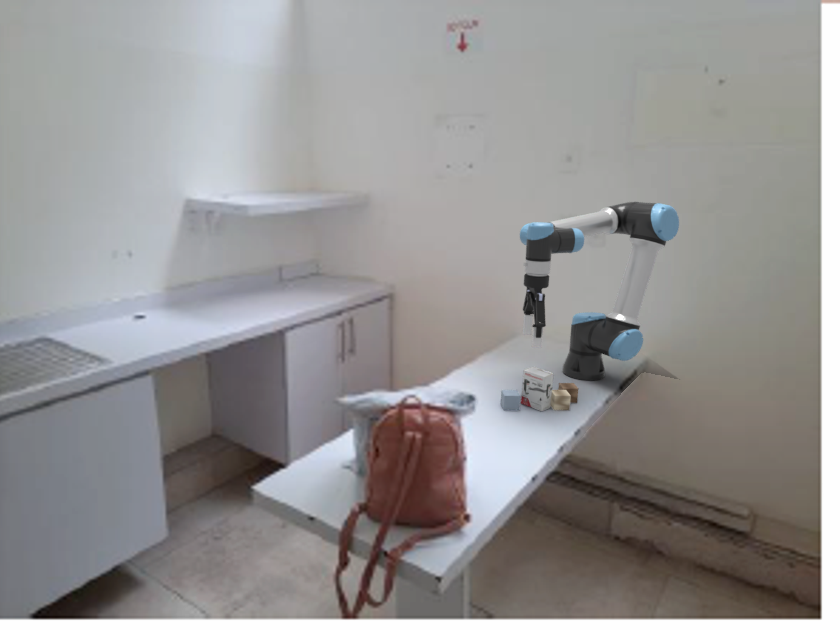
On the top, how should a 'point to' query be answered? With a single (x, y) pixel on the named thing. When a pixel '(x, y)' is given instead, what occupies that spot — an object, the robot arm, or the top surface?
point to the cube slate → (510, 400)
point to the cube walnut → (570, 390)
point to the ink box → (537, 388)
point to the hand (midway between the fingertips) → (531, 340)
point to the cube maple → (560, 400)
